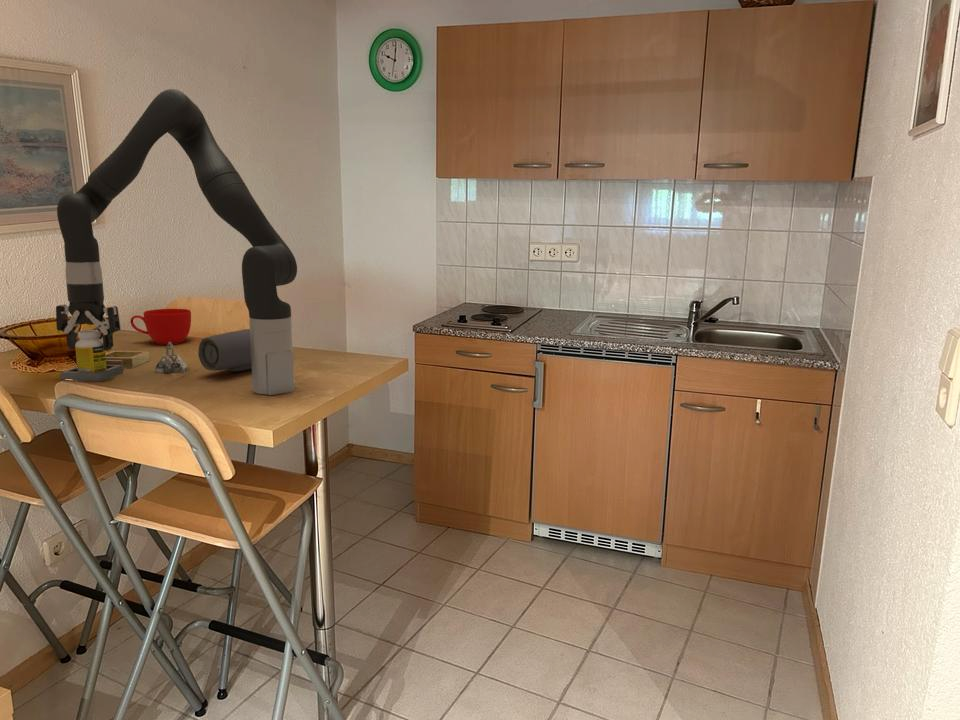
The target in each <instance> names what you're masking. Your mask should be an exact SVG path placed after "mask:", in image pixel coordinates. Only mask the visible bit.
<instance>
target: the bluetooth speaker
mask: <svg viewBox="0 0 960 720" xmlns="http://www.w3.org/2000/svg"><path fill="white" fill-rule="evenodd" d="M197 350H198V352H197V353H198V354H197V355H198V360H199V361H200V363H201V365H202V366H203V368H204V369H206V371H207V370H208V371H210V372H211V371H212V372H213V371H223V370H228V371H229V372H233V373H234V372H242V371H247V370H252V367H251V346H250V328H247V329H241V330H240V329H239V330H234V331H229V332H224V333H219V334H214V335H210V336H207V337H203V339H201V341H200V343H199V345H198V349H197Z"/></svg>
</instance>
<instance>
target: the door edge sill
mask: <svg viewBox="0 0 960 720" xmlns="http://www.w3.org/2000/svg"><path fill="white" fill-rule="evenodd" d="M106 365H122V368H123V371H124V369H125V368H124V366H123V360H106Z"/></svg>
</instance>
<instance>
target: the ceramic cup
mask: <svg viewBox="0 0 960 720" xmlns="http://www.w3.org/2000/svg"><path fill="white" fill-rule="evenodd" d="M135 319H140V320H142V322H143V323H144V325H145V329H146V330H143V329H140V328H139V327H137V326H136V324H135V322H134V320H135ZM129 321H130V322H129V323H130V325H131V326H132V328H133V329H134V330H135V331H137V332H139V333H141V334H145V335H149V338H150V339H151V340H152V342H154V343H156V344H157V345H158V346H159V345H161V346H167V344H168V343H169V342H171V343H172V345H179V344H182V343H183V342H184V341H186V338H187V337H188V335H189V334H190V330H191V327H192V326H191V325H192V324H191V323H192V311H191V310H190V309H185V308H160V309H158V308H157V309H148V310H145V311H143V315H139V314H138V315H137V314H136V315H133V316H132V317H130V320H129Z"/></svg>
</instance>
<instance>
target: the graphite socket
mask: <svg viewBox="0 0 960 720" xmlns="http://www.w3.org/2000/svg"><path fill="white" fill-rule="evenodd" d="M106 368H107V369H106V370H103V371H100V372H78V371H77V366H74V367H72V368H69V369H65V370H62V371H60V380H61V381H62V380H65V379H73V380H78V381H77V382H96V383H101V382H105V381H106V380H109V379H111V378H113V377H114V378H115V377H116V376H119V375H121V374H123V373H124V370H123V368H122V365H106Z"/></svg>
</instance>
